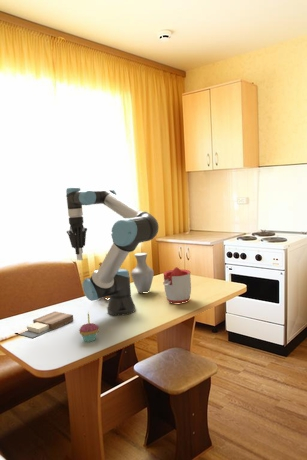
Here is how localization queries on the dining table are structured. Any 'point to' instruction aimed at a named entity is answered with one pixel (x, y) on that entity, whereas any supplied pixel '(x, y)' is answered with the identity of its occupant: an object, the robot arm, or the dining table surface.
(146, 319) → the dining table surface
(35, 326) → the tile
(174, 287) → the citrus juicer
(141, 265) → the vase
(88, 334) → the cupcake
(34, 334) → the mat
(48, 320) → the board
